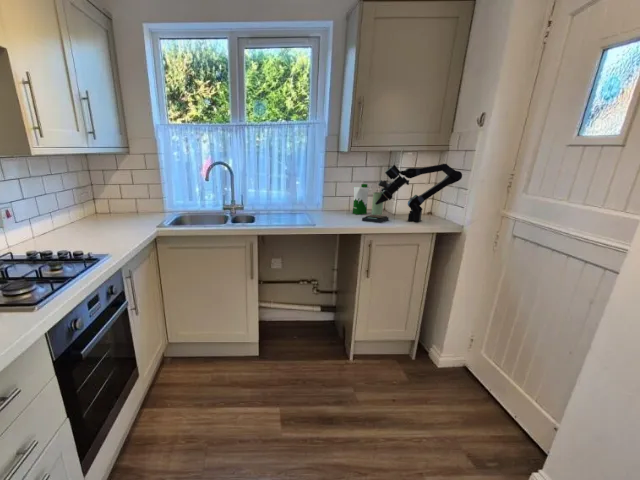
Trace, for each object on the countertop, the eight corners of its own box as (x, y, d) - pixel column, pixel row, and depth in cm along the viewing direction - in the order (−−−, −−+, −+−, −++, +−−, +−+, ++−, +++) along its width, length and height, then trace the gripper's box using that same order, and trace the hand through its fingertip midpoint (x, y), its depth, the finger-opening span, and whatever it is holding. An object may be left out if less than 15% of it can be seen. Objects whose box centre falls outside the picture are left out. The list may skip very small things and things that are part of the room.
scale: (388, 220, 228) (388, 216, 227) (380, 222, 220) (380, 218, 219) (370, 218, 236) (371, 214, 235) (361, 220, 228) (362, 216, 227)
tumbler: (379, 213, 230) (381, 192, 226) (383, 214, 224) (385, 193, 220) (369, 213, 230) (371, 192, 226) (373, 215, 224) (375, 193, 220)
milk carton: (368, 214, 252) (371, 184, 245) (357, 215, 249) (359, 185, 242) (361, 212, 260) (363, 183, 253) (350, 213, 257) (352, 184, 250)
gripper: (385, 174, 227) (366, 192, 233) (388, 176, 210) (367, 195, 216) (397, 187, 228) (377, 205, 234) (401, 190, 211) (379, 209, 217)
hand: (375, 203), depth 225 cm, fingers closed on tumbler, 6 cm apart
